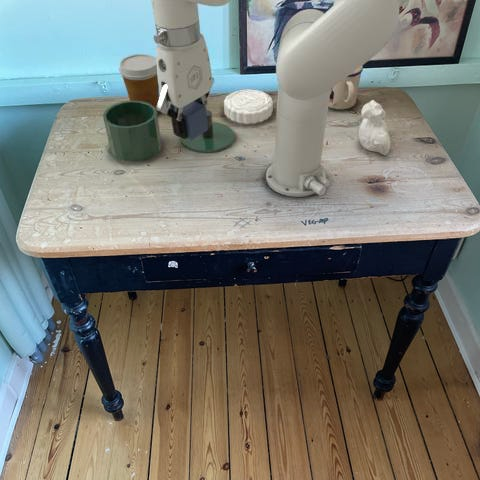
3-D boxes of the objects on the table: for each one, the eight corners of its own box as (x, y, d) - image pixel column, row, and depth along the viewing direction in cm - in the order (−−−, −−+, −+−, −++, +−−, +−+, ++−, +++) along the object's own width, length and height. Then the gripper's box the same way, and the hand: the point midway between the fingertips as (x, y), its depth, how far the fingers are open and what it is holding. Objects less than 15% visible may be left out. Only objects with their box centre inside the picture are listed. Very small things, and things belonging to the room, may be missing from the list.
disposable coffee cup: (119, 114, 122) (109, 64, 113) (145, 98, 127) (137, 49, 117) (148, 125, 118) (140, 75, 109) (173, 109, 123) (167, 59, 114)
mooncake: (255, 96, 127) (255, 82, 124) (281, 116, 121) (282, 102, 118) (215, 109, 123) (214, 95, 120) (240, 130, 117) (240, 116, 114)
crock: (171, 151, 111) (166, 116, 105) (126, 169, 107) (119, 133, 100) (145, 130, 117) (139, 95, 111) (102, 146, 113) (93, 111, 106)
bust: (361, 140, 118) (338, 107, 110) (389, 120, 114) (368, 84, 107) (376, 169, 110) (353, 135, 103) (407, 148, 107) (386, 112, 99)
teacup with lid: (316, 94, 127) (321, 47, 118) (349, 91, 128) (357, 43, 119) (330, 118, 120) (337, 69, 111) (365, 114, 121) (375, 65, 112)
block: (190, 122, 101) (187, 98, 97) (208, 129, 99) (205, 106, 95) (173, 132, 99) (169, 109, 95) (191, 140, 97) (188, 116, 93)
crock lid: (245, 142, 113) (245, 115, 108) (201, 161, 109) (198, 133, 104) (214, 120, 120) (212, 93, 114) (171, 137, 115) (167, 110, 110)
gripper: (158, 55, 79) (174, 155, 93) (227, 20, 87) (232, 118, 101) (127, 44, 82) (147, 142, 96) (196, 12, 90) (205, 107, 104)
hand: (190, 129), depth 99 cm, fingers closed on block, 5 cm apart
